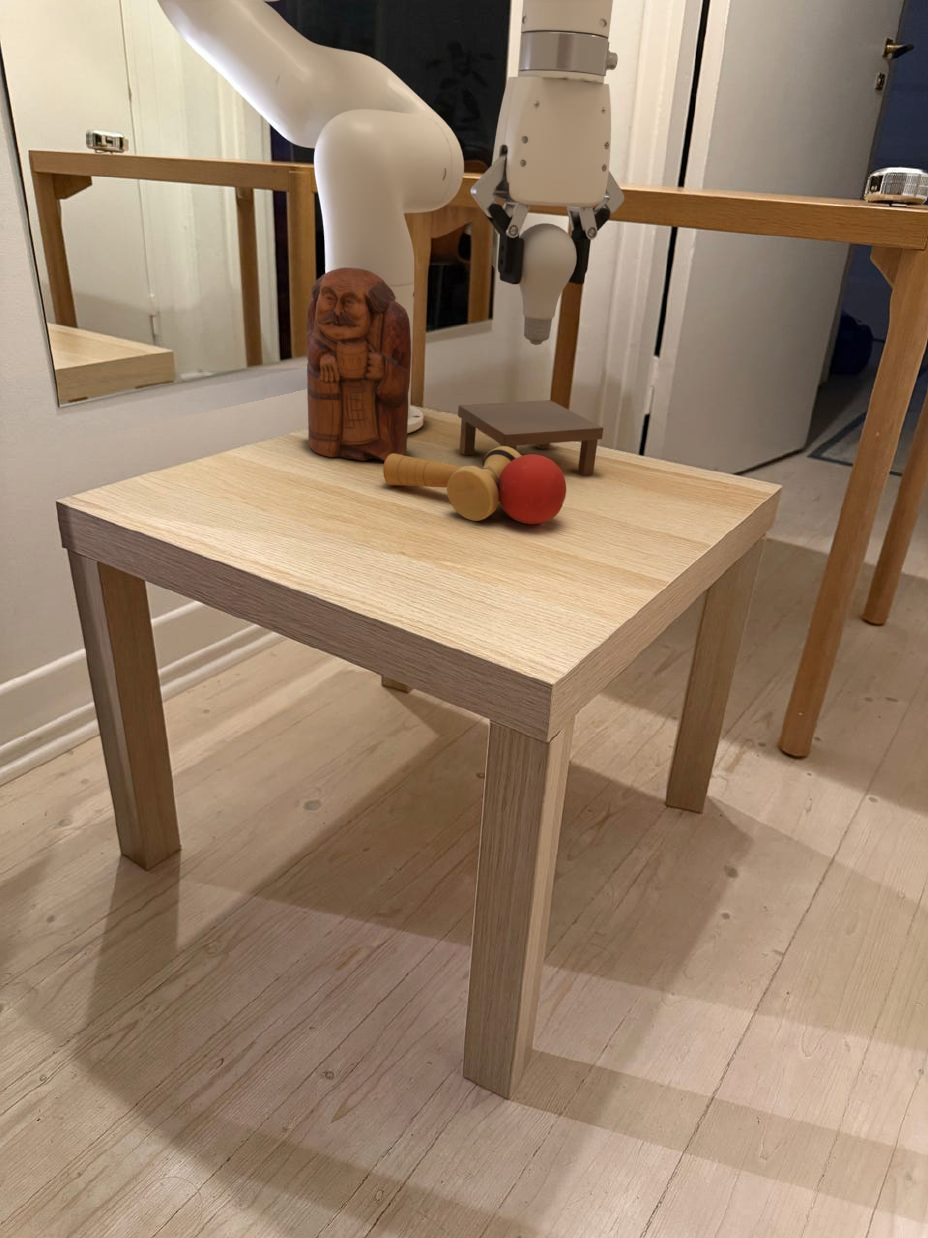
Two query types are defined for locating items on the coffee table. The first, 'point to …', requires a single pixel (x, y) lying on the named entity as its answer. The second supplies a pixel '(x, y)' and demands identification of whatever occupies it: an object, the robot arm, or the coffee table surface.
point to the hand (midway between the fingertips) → (541, 280)
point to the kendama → (489, 484)
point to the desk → (530, 427)
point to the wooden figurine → (357, 367)
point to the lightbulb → (544, 276)
